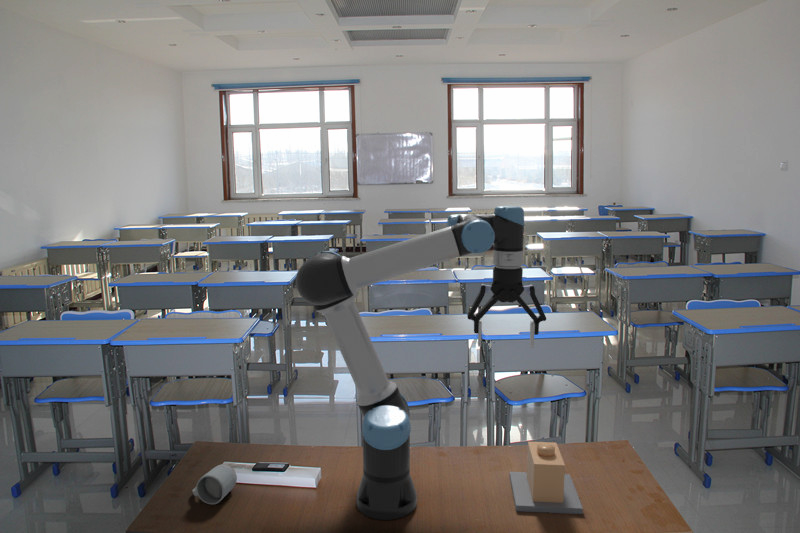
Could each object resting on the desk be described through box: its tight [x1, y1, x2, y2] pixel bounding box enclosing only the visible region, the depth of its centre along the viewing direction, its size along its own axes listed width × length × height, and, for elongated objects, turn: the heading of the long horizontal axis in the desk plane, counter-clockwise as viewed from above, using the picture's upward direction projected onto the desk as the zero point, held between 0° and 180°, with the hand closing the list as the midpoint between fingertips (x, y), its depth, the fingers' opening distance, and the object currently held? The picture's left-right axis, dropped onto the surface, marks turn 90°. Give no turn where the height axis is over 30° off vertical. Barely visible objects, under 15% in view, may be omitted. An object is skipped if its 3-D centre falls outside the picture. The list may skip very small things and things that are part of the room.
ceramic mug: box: [192, 463, 238, 505], centre depth 148 cm, size 11×8×8 cm
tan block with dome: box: [526, 441, 566, 503], centre depth 147 cm, size 12×7×12 cm, turn 175°
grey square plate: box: [508, 471, 584, 515], centre depth 148 cm, size 16×16×10 cm
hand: (505, 345), depth 152 cm, fingers open, 13 cm apart
